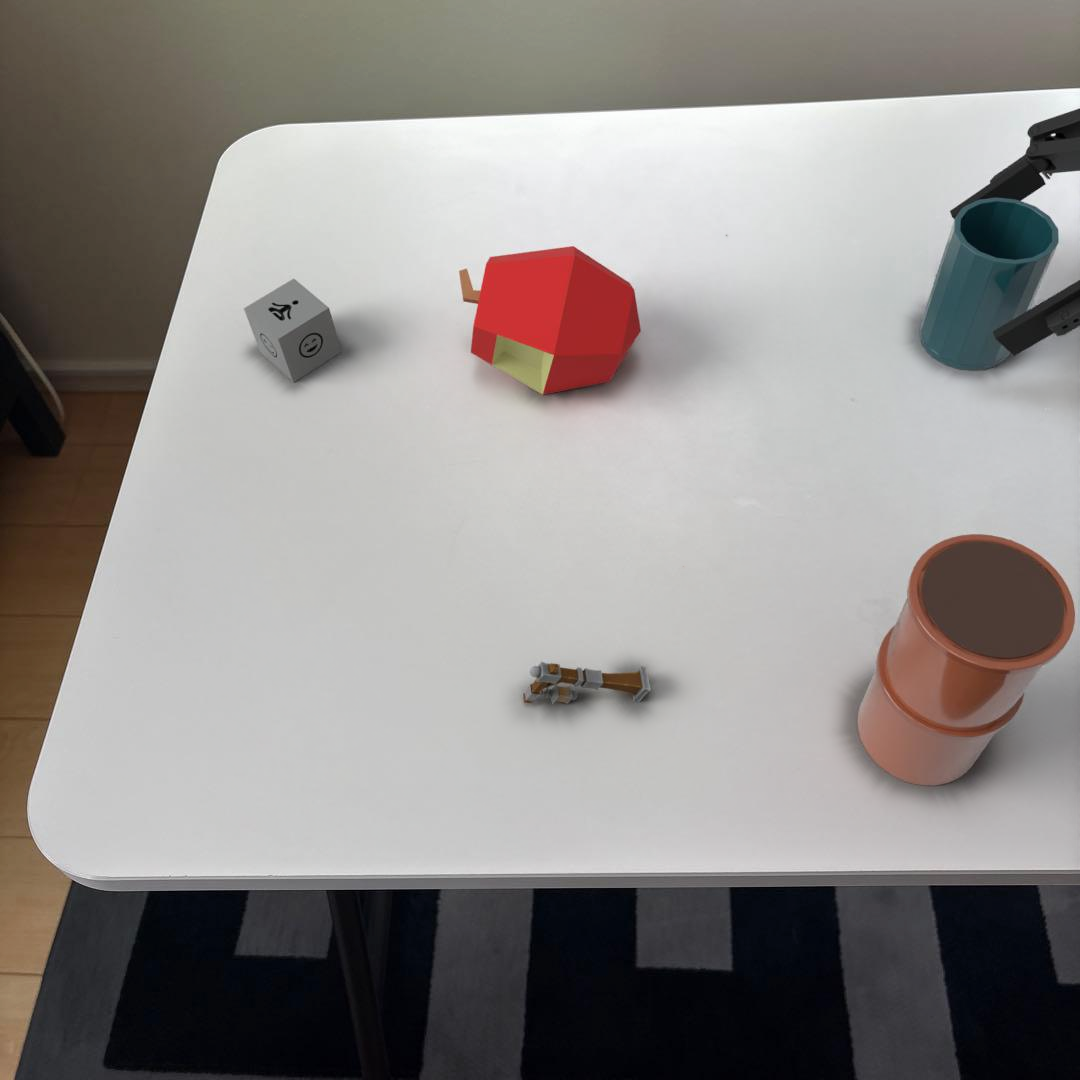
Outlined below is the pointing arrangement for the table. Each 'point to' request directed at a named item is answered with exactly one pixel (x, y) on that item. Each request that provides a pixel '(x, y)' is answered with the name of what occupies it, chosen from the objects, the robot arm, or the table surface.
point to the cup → (986, 280)
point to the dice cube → (293, 329)
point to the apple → (552, 318)
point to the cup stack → (962, 655)
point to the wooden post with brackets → (583, 682)
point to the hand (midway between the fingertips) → (980, 280)
